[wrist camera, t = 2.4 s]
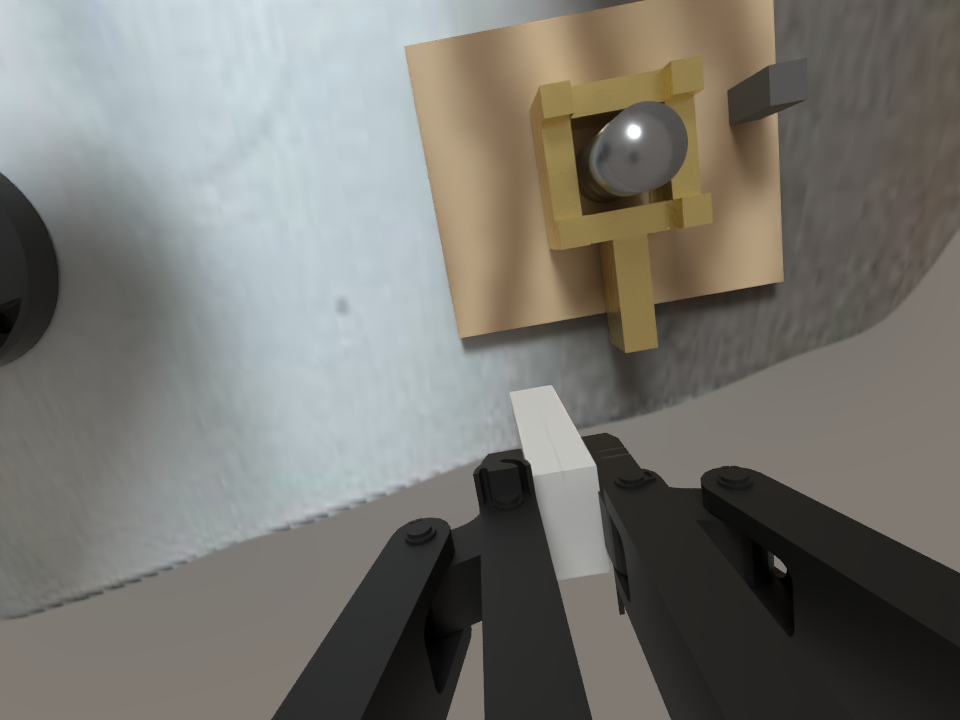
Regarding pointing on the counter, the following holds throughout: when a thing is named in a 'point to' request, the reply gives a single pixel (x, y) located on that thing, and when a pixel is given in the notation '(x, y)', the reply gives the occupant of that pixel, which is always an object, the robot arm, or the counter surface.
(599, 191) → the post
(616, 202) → the oak board
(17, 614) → the counter surface
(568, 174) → the handled square frame
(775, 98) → the block
